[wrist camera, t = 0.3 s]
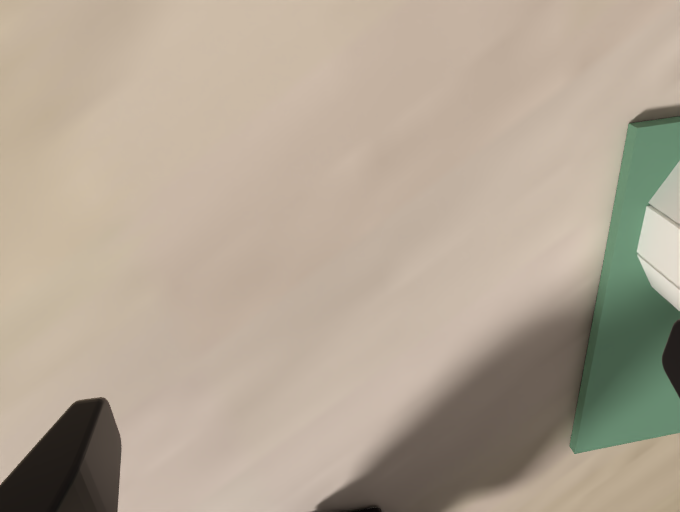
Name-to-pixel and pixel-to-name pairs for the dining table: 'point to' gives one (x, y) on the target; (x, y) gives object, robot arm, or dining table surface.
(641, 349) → the putting green
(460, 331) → the dining table surface
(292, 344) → the dining table surface
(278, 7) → the dining table surface
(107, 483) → the robot arm
